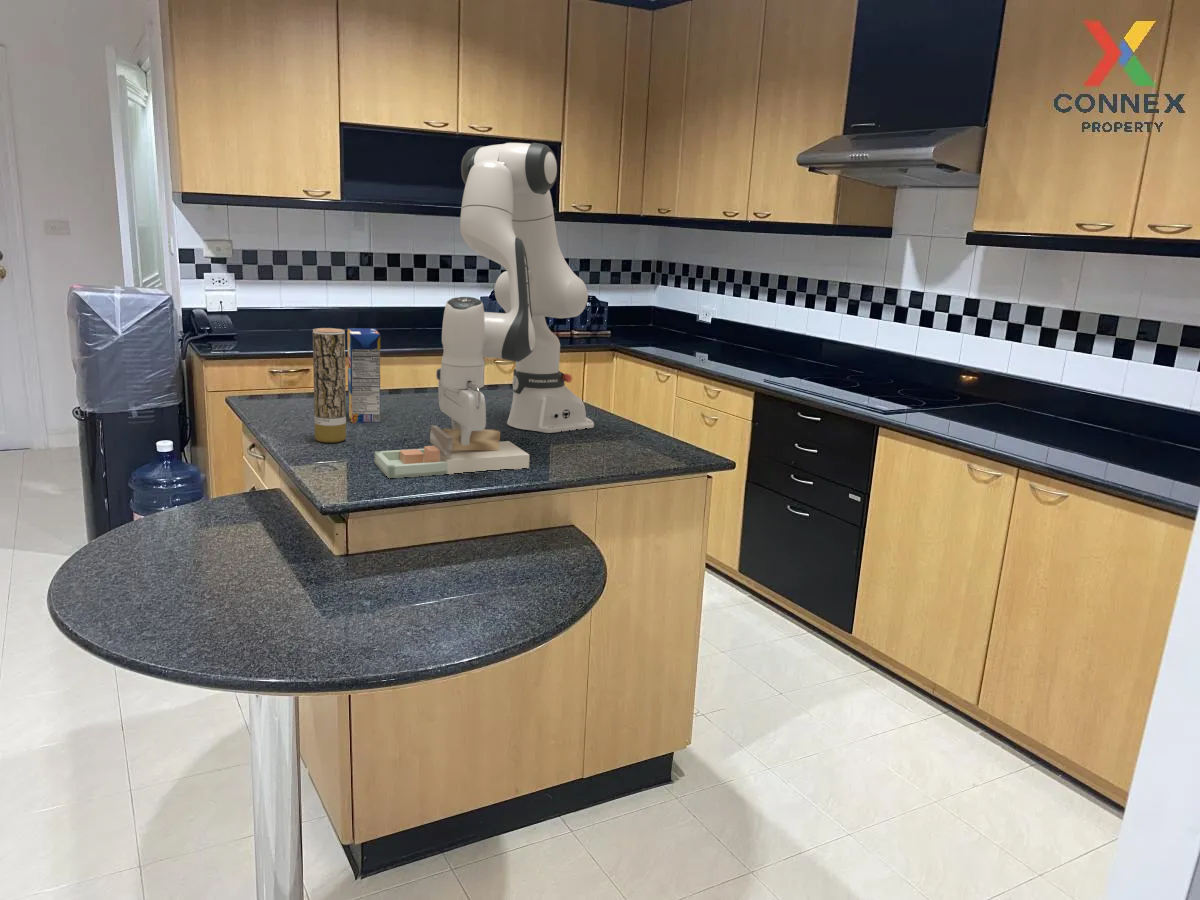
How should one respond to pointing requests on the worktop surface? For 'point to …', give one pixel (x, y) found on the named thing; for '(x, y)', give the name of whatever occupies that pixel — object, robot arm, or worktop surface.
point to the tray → (406, 465)
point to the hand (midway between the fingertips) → (461, 441)
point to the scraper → (450, 441)
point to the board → (486, 459)
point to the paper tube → (329, 384)
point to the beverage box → (363, 375)
